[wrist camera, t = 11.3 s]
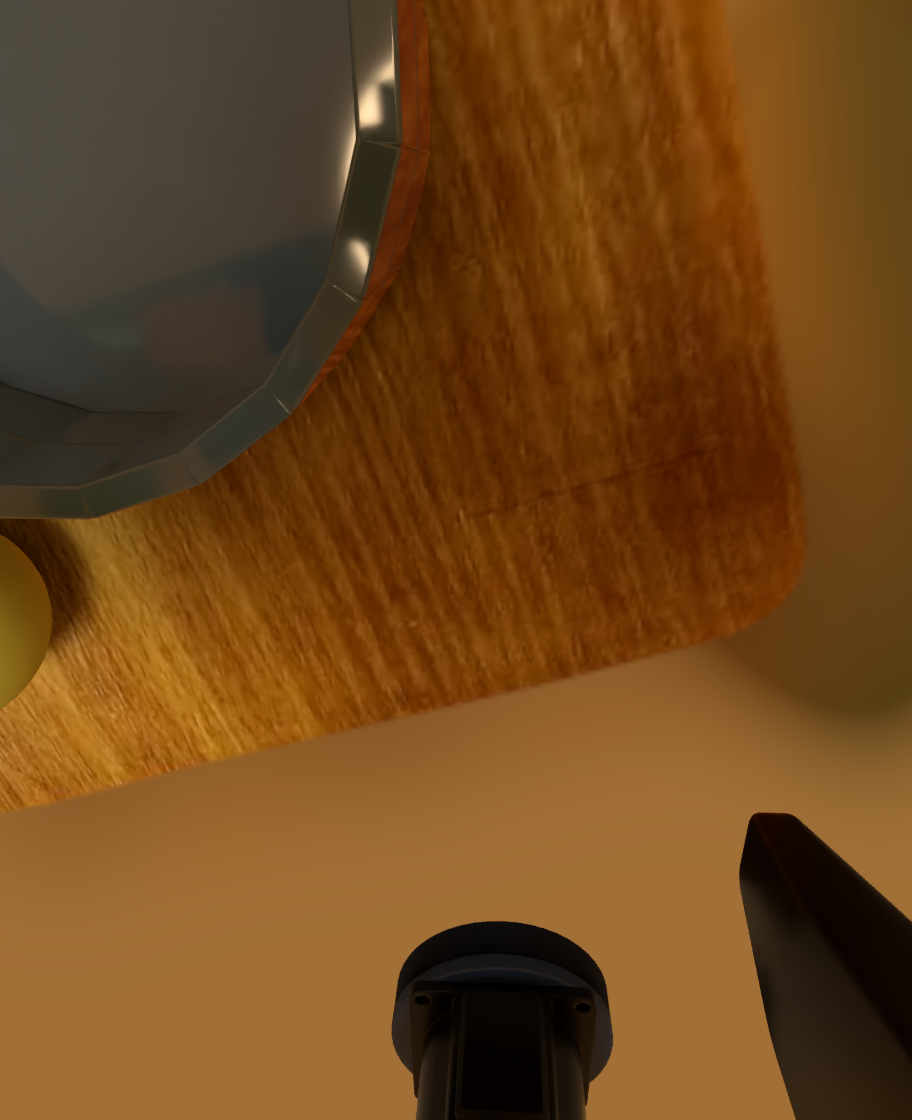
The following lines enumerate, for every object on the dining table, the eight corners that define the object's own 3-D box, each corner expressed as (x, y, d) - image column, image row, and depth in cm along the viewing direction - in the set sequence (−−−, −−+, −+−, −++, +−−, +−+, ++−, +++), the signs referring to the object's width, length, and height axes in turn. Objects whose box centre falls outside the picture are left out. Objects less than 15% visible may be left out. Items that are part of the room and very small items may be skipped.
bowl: (439, 434, 19) (416, 525, 14) (-125, 431, 20) (-333, 516, 15) (420, -423, 13) (366, -798, 8) (-408, -375, 14) (-930, -689, 9)
